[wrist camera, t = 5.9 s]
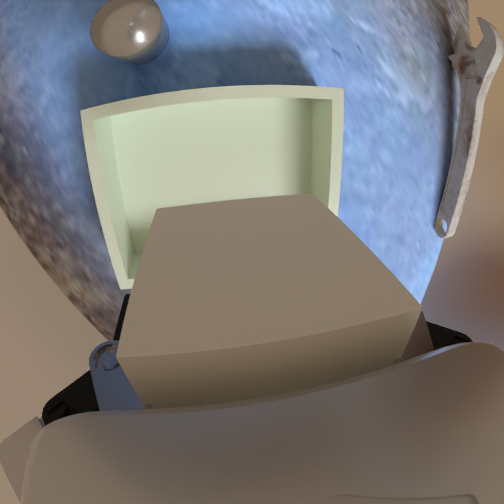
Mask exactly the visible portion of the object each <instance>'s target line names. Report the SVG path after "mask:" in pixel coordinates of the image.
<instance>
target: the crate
mask: <svg viewBox="0 0 504 504" xmlns="http://www.w3.org/2000/svg"><path fill="white" fill-rule="evenodd" d="M80 113H81V121H82V129H83V136H84V143H85V150H86V156H87V162H88V167H89V173H90V178H91V183H92V188H93V192H94V197H95V201H96V206H97V210H98V214H99V218H100V222H101V226H102V230H103V234H104V237H105V241H106V244H107V248H108V251H109V255H110V258H111V261H112V265H113V268H114V271H115V274H116V277H117V280H118V283H119V286H120V289H130V288H132V287H133V283H134V279H135V276H136V272H137V269H138V265H139V262H140V259H141V255H142V252H143V249H144V246H145V242H146V239H147V236H148V233H149V230H150V227H151V224H152V221H153V218H154V215H155V212H156V209H158V208H165V207H173V206H181V205H189V204H198V203H207V202H216V201H225V200H235V199H246V198H257V197H269V196H282V195H296V194H311V193H313V194H314V195H315V196H316V197H317V198H318V199H319V200H320V201H321V202H322V203H323V204H324V205H325V206H326V207H327V208H329V209H330V210H331V211H332V212H333V213H334V214H335V215H336V216H337V217H338V208H339V196H340V183H341V167H342V147H343V115H344V89H343V88H332V87H319V86H300V85H241V86H222V87H209V88H198V89H189V90H180V91H173V92H165V93H159V94H153V95H147V96H141V97H136V98H131V99H126V100H121V101H116V102H112V103H107V104H103V105H99V106H95V107H91V108H88V109H84V110H80Z"/></svg>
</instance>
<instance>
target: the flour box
mask: <svg viewBox="0 0 504 504" xmlns="http://www.w3.org/2000/svg"><path fill="white" fill-rule="evenodd" d="M421 311H422V306H421V305H420V304H419V303H418V302H417V300H416V299H415V298H414V297H413V296H412V295H411V294H410V292H409V291H408V290H407V289H406V288H405V287H404V286H403V285H402V283H401V282H400V281H399V280H398V279H397V278H396V277H395V276H394V275H393V274H392V272H391V271H390V270H389V269H388V268H387V267H386V266H385V265H384V264H383V263H382V262H381V261H380V260H379V259H378V257H377V256H376V255H375V254H374V253H373V252H372V251H371V250H370V249H369V248H368V247H367V246H366V245H365V244H364V243H363V242H362V241H361V240H360V239H359V238H358V237H357V236H356V235H355V234H354V233H353V232H352V231H351V230H350V229H349V228H348V227H347V226H346V225H345V224H344V223H343V222H342V221H341V220H340V219H339V218H338V217H337V216H336V215H335V214H334V213H333V212H332V211H331V210H330V209H329V208H327V207H326V206H325V205H324V204H323V203H322V202H321V201H320V200H319V199H318V198H317V197H316V196H315V195H314V194H313V193H311V194H296V195H282V196H269V197H257V198H246V199H235V200H225V201H216V202H207V203H198V204H189V205H181V206H173V207H165V208H158V209H156V212H155V215H154V218H153V221H152V224H151V227H150V230H149V233H148V236H147V239H146V242H145V246H144V249H143V252H142V255H141V259H140V262H139V265H138V269H137V272H136V276H135V279H134V283H133V287H132V290H131V294H130V298H129V302H128V306H127V310H126V314H125V318H124V322H123V327H122V331H121V335H120V340H119V345H118V349H117V354H116V358H117V360H118V362H119V364H120V366H121V368H122V369H123V371H124V373H125V375H126V377H127V378H128V380H129V382H130V383H131V385H132V387H133V389H134V390H135V392H136V394H137V395H138V397H139V398H140V400H141V402H142V403H143V404H151V405H152V407H153V409H158V408H175V407H189V406H200V405H210V404H219V403H228V402H235V401H242V400H249V399H255V398H261V397H267V396H273V395H278V394H284V393H289V392H294V391H298V390H303V389H308V388H312V387H316V386H321V385H325V384H329V383H333V382H337V381H340V380H344V379H348V378H352V377H355V376H359V375H362V374H365V373H369V372H372V371H375V370H379V369H382V368H385V367H388V366H391V365H393V363H394V361H395V360H396V359H399V358H401V357H402V355H403V352H404V350H405V348H406V346H407V344H408V342H409V339H410V337H411V335H412V333H413V330H414V328H415V326H416V323H417V321H418V318H419V316H420V313H421Z"/></svg>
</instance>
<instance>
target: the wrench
mask: <svg viewBox="0 0 504 504" xmlns="http://www.w3.org/2000/svg"><path fill="white" fill-rule="evenodd" d="M477 20H478V23H479V25H480V28H481V31H482V33H483V36H484V38H483V39H482V41H481V42H480V44H479V45H478V46H477V48H474V47H472V42H471V38H470V35H469V33H468V31H467V28H466V27H465V26H463V25H460V26H458V29H457V32H456V36H455V41H454V54H453V55H450V56H448V58H449V59H450V60H451V61H452V63H451V65H452V68H453V69H456V71H457V74H458V77H459V80H460V86H461V104H460V113H459V121H458V127H457V133H456V139H455V144H454V149H453V154H452V159H451V164H450V169H449V173H448V177H447V182H446V186H445V189H444V193H443V197H442V200H441V204H440V207H439V210H438V214H437V217H436V222H435V232H436V234H437V235H438V236H439V237H440V238H446V237H451V236H452V235H453V234H454V232H455V230H456V227H457V224H458V221H459V218H460V215H461V211H462V208H463V205H464V201H465V198H466V194H467V190H468V186H469V182H470V179H471V175H472V171H473V166H474V161H475V157H476V152H477V146H478V141H479V136H480V129H481V122H482V116H483V108H484V100H485V98H486V95H487V92H488V90H489V87H490V84H491V81H492V78H493V76H494V74H495V72H496V70H497V68H498V65H499V63H500V61H501V59H502V57H503V51H504V49H503V41H502V38H501V36H500V34H499V32H498V30H497V29H496V28H495V27H494V26H493V25H492V24H491V23H489V22H487V21H486V20H484V19H483V18H481V17H477ZM444 220H445V221H446V223H447V228H448V229H447V233H445V231H444V229H443V221H444Z"/></svg>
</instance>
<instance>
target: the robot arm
mask: <svg viewBox="0 0 504 504" xmlns="http://www.w3.org/2000/svg"><path fill="white" fill-rule="evenodd" d="M129 298H130V294H126V295H125V297H124V300H123V304H122V308H121V311H120V315H119V319H118V323H117V327H116V331H115V335H114V339H113V340H111V341H106V342H104V343H102V344H100V345H98V346H97V347H96V348H95V349H94V350H93V351H92V353H91V355H90V357H89V366H90V370H89V371H88V372H86V373H85V374H84V375H83V376H81V377H80V378H78V379H77V380H76V381H74V382H73V383H72V384H70V385H69V386H67V387H66V388H65V389H63V390H62V391H61V392H59V393H58V394H57V395H55V396H54V397H53V398H51V399H50V400H49V401H48V402H47V403H46V405H45V407H44V408H43V412H42V417H41V418H40V419H39V418H38V417H35V418H33V419H32V420H31V421H29V422H28V423H27V424H25V425H24V426H22V427H21V428H20V429H18V430H17V431H16V432H14V433H13V434H12V435H10V436H9V437H7V438H6V439H5V440H4V441H3V442H2V443H1V444H0V462H1V464H2V466H3V469H4V471H5V473H6V475H7V477H8V479H9V481H10V483H11V485H12V487H13V489H14V491H15V493H16V495H17V497H18V499H19V500H20V502H21V504H504V352H503V351H502V350H500V348H498V347H497V346H495V345H493V344H490V343H486V342H473V341H472V340H471V339H470V338H469V337H468V336H467V335H465V334H463V333H460V332H457V331H454V330H451V329H448V328H445V327H442V326H439V325H436V324H433V323H430V322H427V321H426V320H425V317H424V314H423V312H422V311H421V313H420V316H419V318H418V321H417V323H416V326H415V328H414V330H413V333H412V335H411V337H410V339H409V342H408V344H407V346H406V348H405V350H404V352H403V355H402V357H401V358H399V359H396V360H395V361H394V363H393V365H391V366H388V367H385V368H382V369H379V370H375V371H372V372H369V373H365V374H362V375H359V376H355V377H352V378H348V379H344V380H340V381H337V382H333V383H329V384H325V385H321V386H316V387H312V388H308V389H303V390H298V391H294V392H289V393H284V394H278V395H273V396H267V397H261V398H255V399H249V400H242V401H235V402H228V403H219V404H210V405H200V406H189V407H175V408H158V409H153V407H152V405H151V404H143V403H142V402H141V400H140V398H139V397H138V395H137V394H136V392H135V390H134V389H133V387H132V385H131V383H130V382H129V380H128V378H127V377H126V375H125V373H124V371H123V369H122V368H121V366H120V364H119V362H118V360H117V358H116V354H117V349H118V345H119V340H120V335H121V331H122V327H123V322H124V318H125V314H126V310H127V306H128V302H129Z"/></svg>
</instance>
